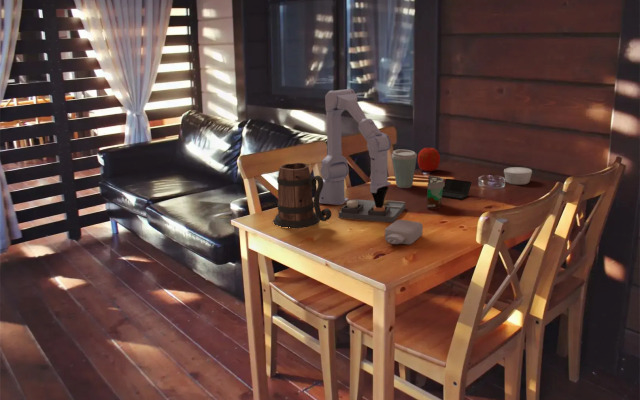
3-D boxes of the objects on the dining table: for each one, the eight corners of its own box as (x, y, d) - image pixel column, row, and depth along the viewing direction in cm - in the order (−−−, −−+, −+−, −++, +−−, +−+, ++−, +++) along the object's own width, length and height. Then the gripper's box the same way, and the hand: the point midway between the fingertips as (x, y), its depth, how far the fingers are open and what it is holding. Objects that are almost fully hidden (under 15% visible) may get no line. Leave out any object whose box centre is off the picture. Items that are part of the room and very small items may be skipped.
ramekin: (497, 181, 251) (498, 169, 249) (517, 177, 255) (518, 165, 254) (516, 187, 241) (517, 174, 240) (537, 183, 245) (538, 171, 244)
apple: (417, 173, 268) (417, 148, 264) (417, 168, 277) (417, 144, 274) (439, 173, 266) (440, 148, 263) (439, 168, 275) (439, 144, 272)
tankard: (262, 222, 208) (259, 167, 202) (293, 210, 220) (291, 158, 215) (314, 235, 194) (312, 176, 188) (344, 221, 206) (343, 166, 200)
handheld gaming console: (434, 194, 230) (442, 171, 232) (437, 200, 236) (445, 178, 238) (463, 201, 225) (471, 178, 227) (465, 207, 231) (473, 185, 234)
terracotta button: (372, 213, 207) (372, 208, 206) (375, 210, 210) (375, 204, 210) (383, 214, 205) (383, 209, 205) (386, 211, 209) (386, 205, 208)
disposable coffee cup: (420, 184, 249) (421, 149, 245) (410, 190, 240) (410, 155, 236) (398, 181, 255) (398, 147, 250) (387, 187, 246) (386, 152, 242)
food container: (444, 210, 214) (445, 184, 211) (427, 210, 215) (427, 183, 212) (444, 200, 226) (444, 175, 223) (427, 200, 227) (428, 175, 224)
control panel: (338, 217, 210) (338, 208, 209) (354, 204, 225) (353, 195, 224) (393, 222, 203) (393, 213, 202) (405, 208, 218) (405, 199, 217)
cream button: (345, 208, 210) (345, 202, 209) (348, 204, 213) (348, 199, 213) (355, 209, 208) (355, 203, 208) (359, 205, 212) (359, 200, 211)
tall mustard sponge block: (376, 205, 215) (376, 194, 214) (380, 201, 220) (380, 191, 219) (384, 205, 214) (384, 195, 213) (388, 202, 219) (388, 191, 218)
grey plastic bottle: (376, 247, 182) (395, 232, 194) (404, 252, 178) (422, 236, 190) (376, 232, 181) (396, 218, 193) (404, 237, 176) (422, 222, 188)
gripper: (384, 175, 195) (384, 214, 199) (395, 165, 208) (395, 202, 212) (364, 174, 198) (364, 212, 202) (376, 164, 211) (376, 200, 215)
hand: (379, 207), depth 207 cm, fingers closed, pressing on terracotta button
